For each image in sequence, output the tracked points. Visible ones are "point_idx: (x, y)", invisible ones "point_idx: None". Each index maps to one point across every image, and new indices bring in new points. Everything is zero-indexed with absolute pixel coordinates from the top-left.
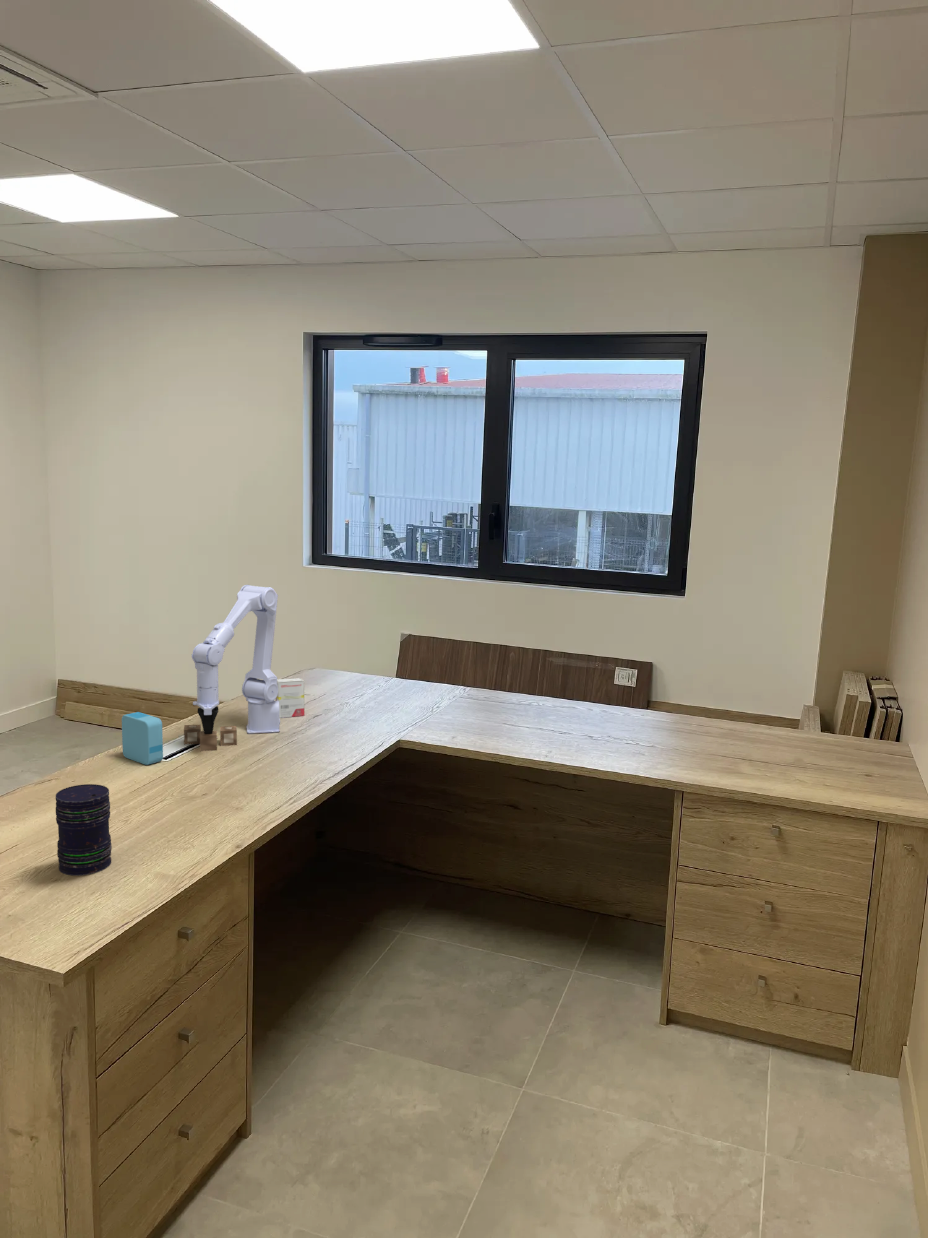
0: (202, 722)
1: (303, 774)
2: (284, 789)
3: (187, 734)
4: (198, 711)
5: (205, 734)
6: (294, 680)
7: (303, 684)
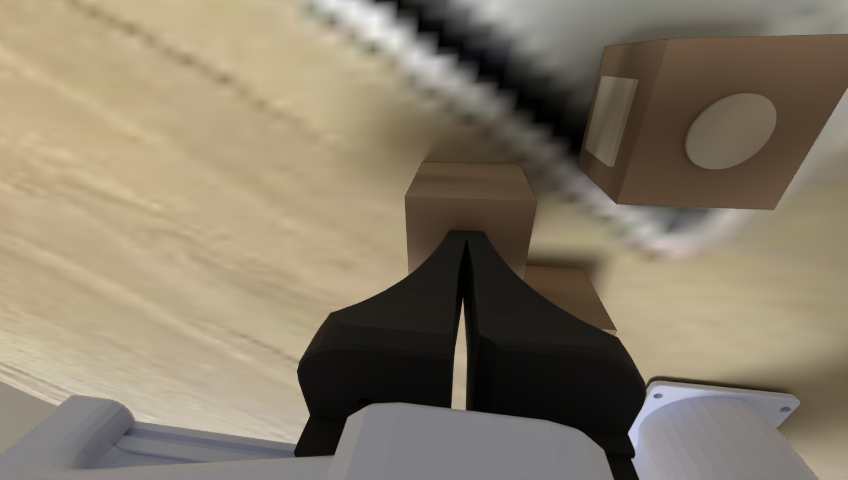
0: (411, 275)
1: (187, 418)
2: (67, 370)
3: (627, 78)
4: (309, 352)
5: (437, 234)
6: None
7: None
